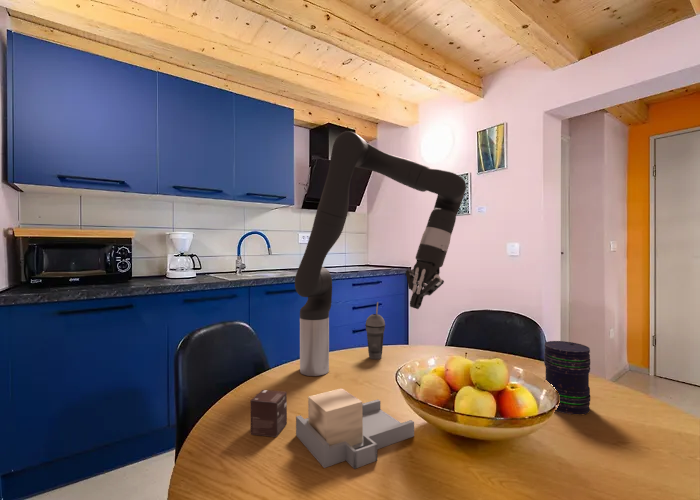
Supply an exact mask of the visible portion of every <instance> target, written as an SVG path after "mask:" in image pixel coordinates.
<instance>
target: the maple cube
mask: <svg viewBox="0 0 700 500" xmlns="http://www.w3.org/2000/svg"><path fill="white" fill-rule="evenodd" d="M307 399H308V400H307V404H308V406H307V407H308V408H307V410H308V411H307V412H308V415H307V416H308V417H307V418H308V423H309V424H310V425H311V426H312V427H313V428H314V430H315V431H316V432H317V433H318V434H319V435H320V436H321V437H322V438H323V439H324V440H325V441H326V442H327V443H328V444H329V446H331V445H334V444H338V443H341V442H344V441H346V442H347V443H348V444H349V445H350V446H353V445H356V444H359V443H362V442H363V415H362V404H363V401H362V400H361V399H359V398H358V397H356V396H354V395H353V394H352V393H350V392H348V391H347V390H346V389H344V388H343V387H342V388H337V389H333V390H330V391H324V392H321V393H317V394H314V395H309V396H308V397H307Z"/></svg>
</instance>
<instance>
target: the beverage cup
mask: <svg viewBox="0 0 700 500" xmlns="http://www.w3.org/2000/svg"><path fill="white" fill-rule="evenodd" d="M378 308H379V301H377V302H376V309H375V313H372V314H370V315H369V316H368V317H367V318H366V321H365V325H364V327H365V332H366V338H367V340H366V341H367V350H368V358H369V359H371V360H380V359H382V356H383V346H384V337H385V336H384V335H385V333H384V332H385V329H386V321H385V319H384V318H383V316H382V315H380V314H378V311H379V309H378Z"/></svg>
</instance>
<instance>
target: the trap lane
mask: <svg viewBox="0 0 700 500" xmlns="http://www.w3.org/2000/svg"><path fill="white" fill-rule="evenodd" d="M362 415H363V442H362V443H359V444H356V445H353V446H350V445H349V444H348V443H347V442H346V441H344V442H341V443H338V444H334V445H331V446H329V444H328V443H327V442H326V441H325V440H324V439H323V438H322V437H321V436H320V435H319V434H318V433H317V432H316V431H315V430H314V428H313V427H312V426H311V425H310V424H309V423H308V417H306V418H304V417H303V416H302V415H296V416H295V436H296V437H297V439H298V440H299V441H300V442H301V443H302V444H303V446H305V448H306V449H307V450H308V451H309V453H311V455H312V456H313V457H314V458H315V459H316V460H317V462H318V463H319V464H320V466H321V467H323V469H326V468H329V467H331V466H334V465H336V464H340V463H342V462H345V461H346V462H347V463H348V464H349V465H350V467H352V468H353V469H354V470H356V469H358V468H361V467H363V466H367V465H368V464H369V465H370V464H371V463H374V462H376V461H378V450H379V449H382V448H386V447H388V446H390V445H393V444H396V443H400V442H402V441H404V440H407V439H411V438H413V437H415V421H413V419H412V420H411V419H410V420H407V421H404V422H401V421H400V420H397V419H396V418H395V417H393V416H391V415H390V414H388V413H387V412H385V411H383V410H382V409H381V400H380V399H375V400H374V399H373V400H371V401H366V402H362Z"/></svg>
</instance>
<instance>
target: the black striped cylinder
mask: <svg viewBox="0 0 700 500" xmlns="http://www.w3.org/2000/svg"><path fill="white" fill-rule="evenodd" d="M590 353H591V348H590V347H589V346H587V345H585V344H581V343H577V342H572V341H564V340H550V341H545V342H544V353H543V354H544V355H543V358H544V366H545V380H547V381H548V382H549V383H550V384H552V385H553V387H555V389H556V390H557V391H558V393H559V395H560V403H559V406H558V408H557V410H555V412H558V413H562V414H566V413H567V414H566V415H571V414H585V415H587V414H586V413H588V412H589V411H590V412H591V409H590V408H591V407H590V405H591V391H590V390H591V388H590V385H589V384H590V381H589V380H590V378H589V377H590V375H589V374H590V372H591V354H590ZM590 412H589V413H590ZM589 413H588V414H589Z"/></svg>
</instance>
